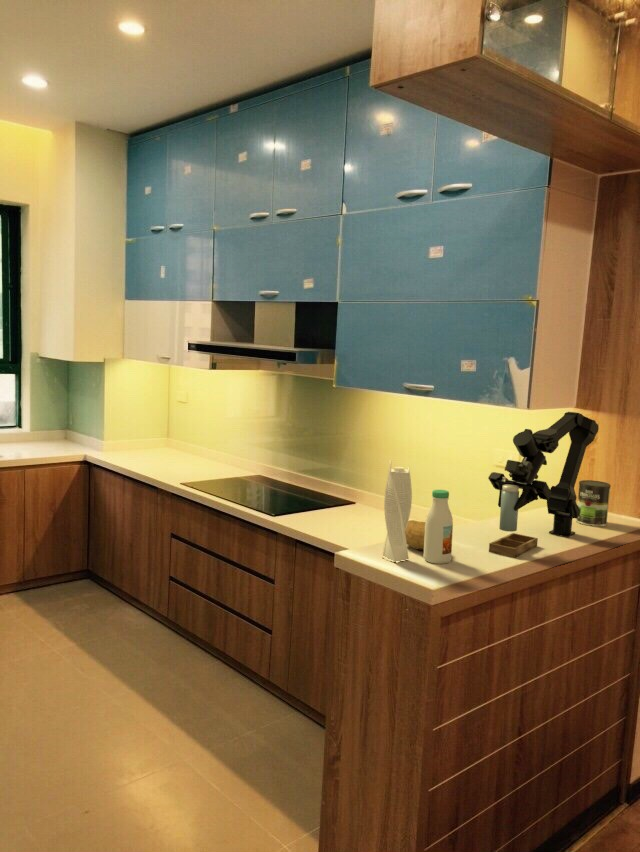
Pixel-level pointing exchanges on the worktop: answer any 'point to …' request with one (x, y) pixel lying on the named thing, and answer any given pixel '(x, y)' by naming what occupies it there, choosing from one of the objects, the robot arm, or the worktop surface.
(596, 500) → the coffee can
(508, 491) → the salt shaker
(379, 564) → the worktop surface
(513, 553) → the caddy
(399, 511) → the skyscraper
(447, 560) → the milk bottle
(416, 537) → the potato
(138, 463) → the worktop surface
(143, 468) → the worktop surface
